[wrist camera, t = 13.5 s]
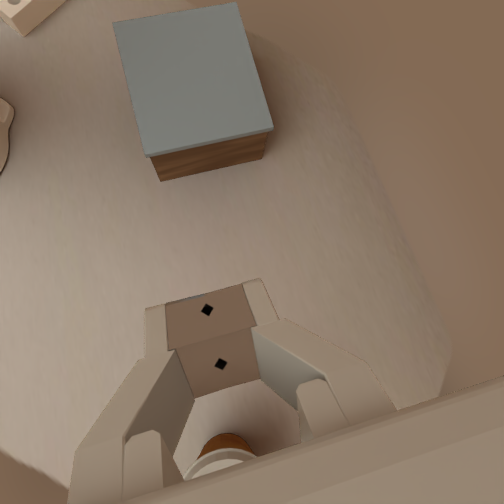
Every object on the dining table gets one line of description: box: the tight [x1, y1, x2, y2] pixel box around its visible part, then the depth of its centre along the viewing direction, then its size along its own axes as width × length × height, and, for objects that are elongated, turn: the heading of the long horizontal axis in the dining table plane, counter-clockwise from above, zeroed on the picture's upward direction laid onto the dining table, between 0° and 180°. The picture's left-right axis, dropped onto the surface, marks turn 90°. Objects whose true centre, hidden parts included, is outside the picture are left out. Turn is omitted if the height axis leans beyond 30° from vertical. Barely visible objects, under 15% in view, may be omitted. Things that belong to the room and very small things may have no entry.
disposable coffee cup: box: [183, 433, 257, 481], centre depth 37 cm, size 10×10×12 cm
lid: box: [112, 2, 274, 158], centre depth 43 cm, size 17×15×1 cm
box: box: [150, 132, 268, 182], centre depth 47 cm, size 16×14×8 cm
